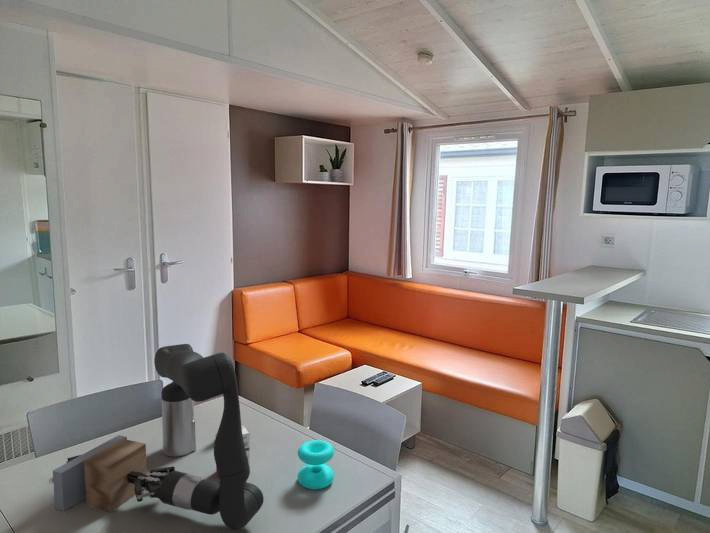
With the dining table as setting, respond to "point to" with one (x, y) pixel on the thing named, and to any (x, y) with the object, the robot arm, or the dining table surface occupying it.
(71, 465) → the slate board
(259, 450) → the dining table surface
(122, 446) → the walnut block
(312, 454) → the turquoise spool
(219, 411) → the dining table surface
